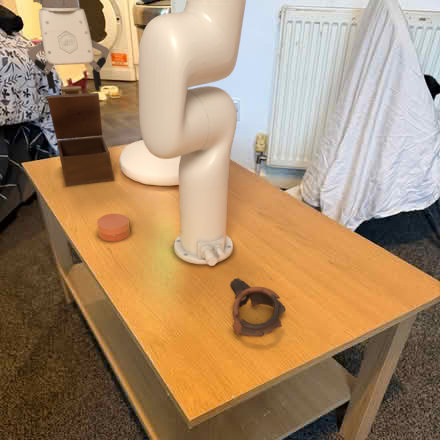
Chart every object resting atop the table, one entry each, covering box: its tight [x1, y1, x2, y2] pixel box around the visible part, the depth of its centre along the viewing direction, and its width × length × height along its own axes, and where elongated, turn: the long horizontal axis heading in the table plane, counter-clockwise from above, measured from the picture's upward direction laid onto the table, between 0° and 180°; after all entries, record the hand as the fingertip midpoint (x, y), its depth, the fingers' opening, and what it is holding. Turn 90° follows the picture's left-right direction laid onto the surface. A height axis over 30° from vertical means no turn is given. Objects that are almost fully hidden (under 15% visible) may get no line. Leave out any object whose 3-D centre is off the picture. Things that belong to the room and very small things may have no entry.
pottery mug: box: [229, 277, 286, 338], centre depth 69 cm, size 12×10×8 cm
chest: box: [56, 135, 115, 187], centre depth 114 cm, size 14×13×8 cm
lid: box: [46, 85, 103, 141], centre depth 110 cm, size 14×13×5 cm
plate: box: [118, 139, 181, 187], centre depth 118 cm, size 28×6×27 cm
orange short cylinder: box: [96, 213, 131, 242], centre depth 91 cm, size 7×7×3 cm
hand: (76, 90), depth 96 cm, fingers open, 9 cm apart
